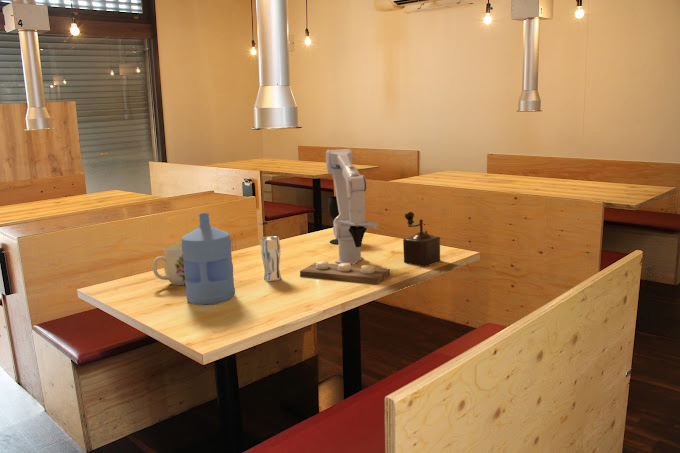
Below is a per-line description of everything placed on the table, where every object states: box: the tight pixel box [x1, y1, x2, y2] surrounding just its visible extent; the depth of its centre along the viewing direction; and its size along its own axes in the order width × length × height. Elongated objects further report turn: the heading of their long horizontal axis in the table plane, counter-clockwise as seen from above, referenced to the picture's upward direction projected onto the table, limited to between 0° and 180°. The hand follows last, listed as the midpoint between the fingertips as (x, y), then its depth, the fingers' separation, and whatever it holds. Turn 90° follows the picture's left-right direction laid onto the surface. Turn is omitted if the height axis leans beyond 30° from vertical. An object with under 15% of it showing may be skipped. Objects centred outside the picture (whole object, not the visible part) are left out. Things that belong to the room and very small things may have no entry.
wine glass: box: [327, 195, 339, 246], centre depth 271 cm, size 10×10×20 cm
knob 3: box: [361, 264, 375, 274], centre depth 217 cm, size 5×5×2 cm
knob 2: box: [337, 263, 352, 272], centre depth 220 cm, size 5×5×2 cm
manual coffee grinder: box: [402, 211, 441, 267], centre depth 235 cm, size 16×11×18 cm
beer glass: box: [260, 235, 282, 282], centre depth 219 cm, size 7×7×15 cm
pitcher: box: [152, 242, 186, 286], centre depth 219 cm, size 11×18×14 cm, turn 132°
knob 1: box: [315, 260, 329, 270], centre depth 224 cm, size 5×5×2 cm
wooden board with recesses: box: [299, 262, 391, 285], centre depth 221 cm, size 12×30×2 cm, turn 64°
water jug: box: [181, 212, 236, 306], centre depth 199 cm, size 16×16×28 cm
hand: (358, 246), depth 223 cm, fingers closed
